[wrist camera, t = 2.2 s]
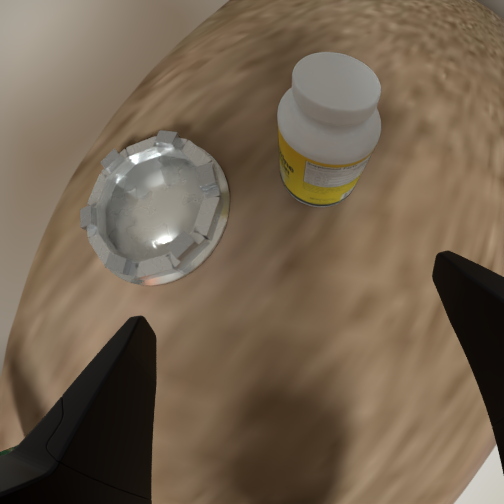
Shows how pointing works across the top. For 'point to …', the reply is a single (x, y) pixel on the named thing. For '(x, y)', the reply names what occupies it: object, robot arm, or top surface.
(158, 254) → the steel ashtray
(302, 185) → the pill bottle
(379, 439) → the top surface
